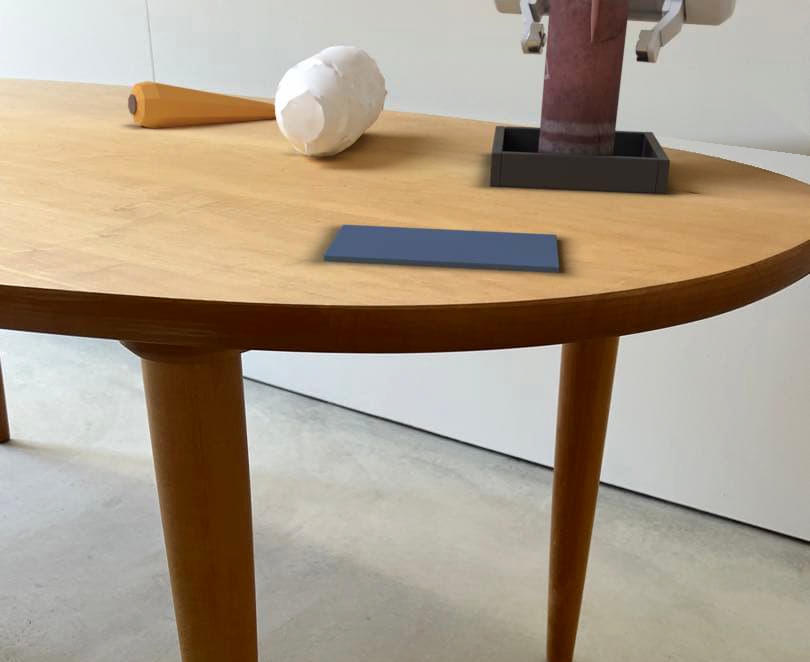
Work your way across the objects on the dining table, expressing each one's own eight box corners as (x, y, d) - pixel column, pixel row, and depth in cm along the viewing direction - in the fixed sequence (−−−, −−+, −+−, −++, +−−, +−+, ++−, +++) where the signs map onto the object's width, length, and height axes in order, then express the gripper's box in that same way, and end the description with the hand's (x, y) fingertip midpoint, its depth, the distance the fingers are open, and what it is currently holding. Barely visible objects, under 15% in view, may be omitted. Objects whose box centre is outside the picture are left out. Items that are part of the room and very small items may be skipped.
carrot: (136, 138, 107) (143, 94, 104) (120, 113, 109) (126, 69, 106) (316, 144, 118) (327, 105, 114) (298, 122, 120) (308, 82, 117)
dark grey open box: (648, 164, 98) (652, 132, 96) (665, 196, 86) (670, 160, 84) (493, 157, 99) (495, 125, 97) (489, 188, 87) (491, 152, 85)
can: (548, 181, 89) (565, -14, 82) (528, 165, 94) (542, -19, 88) (621, 180, 90) (643, -13, 83) (597, 165, 95) (616, -17, 88)
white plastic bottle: (256, 169, 91) (251, 65, 88) (304, 132, 108) (302, 43, 104) (351, 174, 91) (350, 68, 87) (385, 136, 107) (386, 46, 103)
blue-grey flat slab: (555, 242, 72) (556, 234, 72) (558, 275, 65) (559, 266, 65) (342, 231, 73) (342, 224, 73) (323, 263, 66) (323, 255, 66)
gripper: (507, -120, 92) (456, 16, 89) (758, -117, 85) (712, 31, 82) (521, -59, 98) (473, 71, 95) (757, -51, 90) (715, 90, 87)
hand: (586, 53), depth 88 cm, fingers open, 8 cm apart
